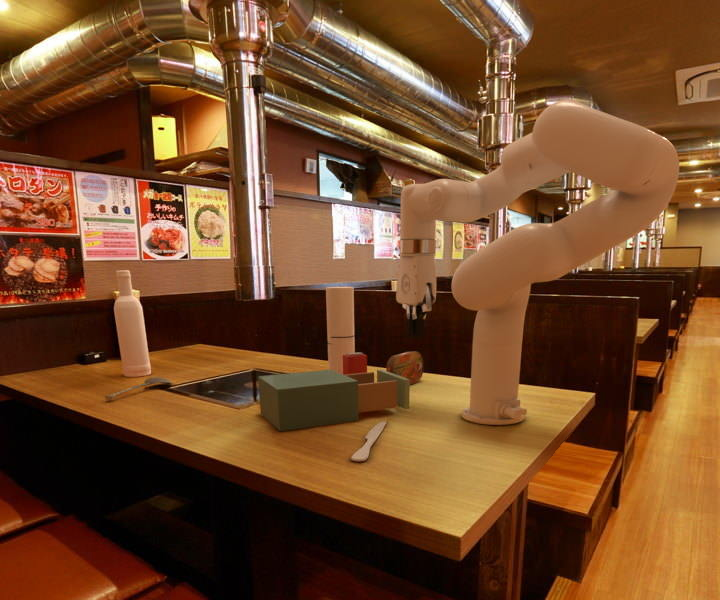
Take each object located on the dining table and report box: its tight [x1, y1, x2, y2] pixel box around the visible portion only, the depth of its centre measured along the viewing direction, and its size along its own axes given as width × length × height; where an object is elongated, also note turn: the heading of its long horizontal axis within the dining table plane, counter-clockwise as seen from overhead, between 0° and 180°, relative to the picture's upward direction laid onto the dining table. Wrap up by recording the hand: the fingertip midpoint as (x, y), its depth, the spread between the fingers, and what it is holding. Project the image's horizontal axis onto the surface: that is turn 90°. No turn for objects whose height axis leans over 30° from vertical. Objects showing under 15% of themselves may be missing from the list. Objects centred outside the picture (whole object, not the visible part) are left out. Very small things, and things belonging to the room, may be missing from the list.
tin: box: [385, 350, 425, 386], centre depth 147 cm, size 15×3×8 cm, turn 143°
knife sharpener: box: [343, 352, 368, 375], centre depth 137 cm, size 4×5×10 cm
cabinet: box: [257, 369, 360, 432], centre depth 116 cm, size 17×15×8 cm
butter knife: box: [350, 420, 388, 463], centre depth 101 cm, size 1×24×3 cm
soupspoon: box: [104, 376, 173, 402], centre depth 144 cm, size 22×3×7 cm
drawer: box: [345, 368, 411, 413], centre depth 121 cm, size 17×14×6 cm
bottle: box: [113, 269, 152, 378], centre depth 163 cm, size 8×8×30 cm
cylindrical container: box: [325, 286, 356, 374], centre depth 147 cm, size 7×7×25 cm
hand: (415, 337), depth 123 cm, fingers closed
